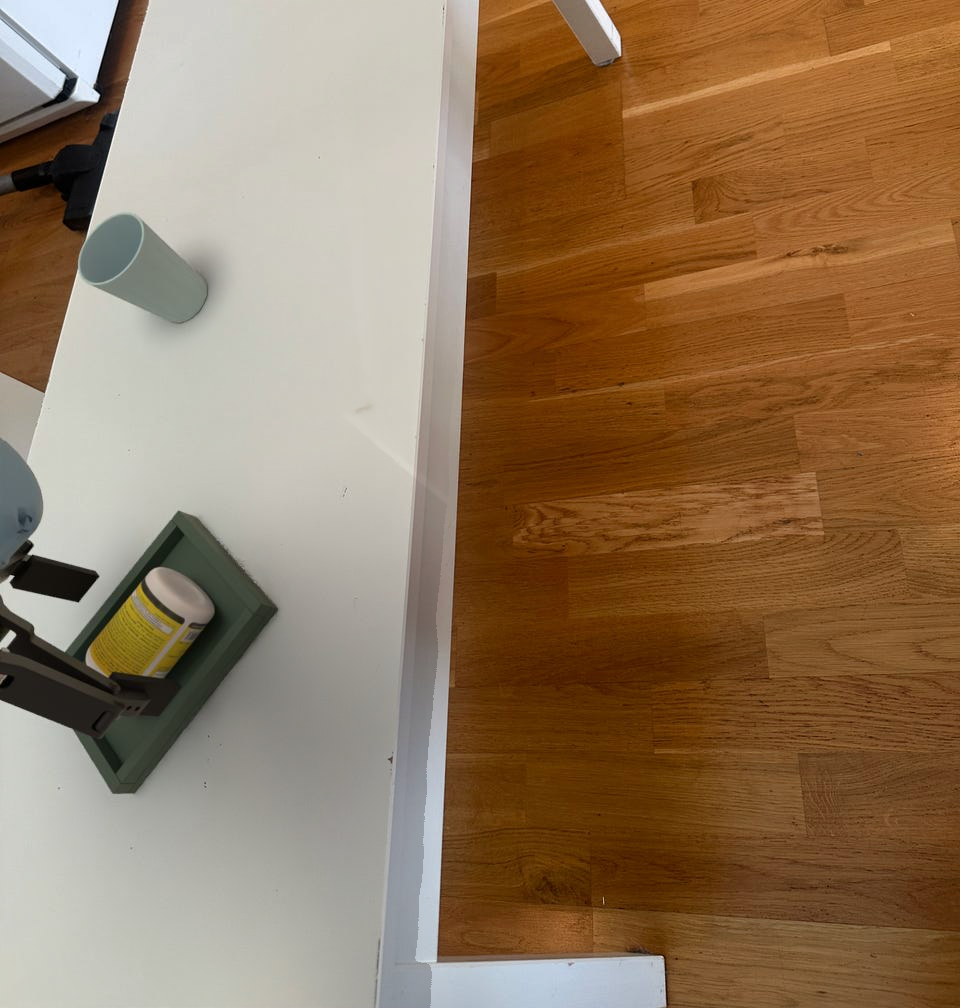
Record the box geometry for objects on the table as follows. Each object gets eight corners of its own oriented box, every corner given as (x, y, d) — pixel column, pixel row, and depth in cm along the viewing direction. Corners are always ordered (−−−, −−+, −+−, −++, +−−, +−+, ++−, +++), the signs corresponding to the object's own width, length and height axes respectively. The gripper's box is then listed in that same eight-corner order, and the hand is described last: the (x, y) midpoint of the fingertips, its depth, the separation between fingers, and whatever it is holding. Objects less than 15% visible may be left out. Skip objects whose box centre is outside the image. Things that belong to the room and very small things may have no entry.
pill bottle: (145, 553, 70) (54, 664, 69) (165, 595, 66) (67, 715, 65) (205, 582, 74) (119, 687, 73) (227, 624, 69) (136, 737, 69)
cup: (143, 309, 91) (65, 260, 82) (192, 254, 91) (119, 199, 83) (177, 346, 87) (99, 298, 78) (228, 288, 87) (156, 234, 79)
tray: (134, 793, 69) (112, 794, 67) (63, 682, 76) (41, 680, 74) (278, 608, 70) (261, 603, 68) (195, 516, 77) (178, 509, 75)
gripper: (-15, 682, 45) (240, 709, 63) (-157, 431, 59) (86, 512, 76) (-113, 803, 44) (173, 796, 62) (-233, 521, 58) (29, 581, 76)
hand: (125, 639), depth 69 cm, fingers open, 13 cm apart
